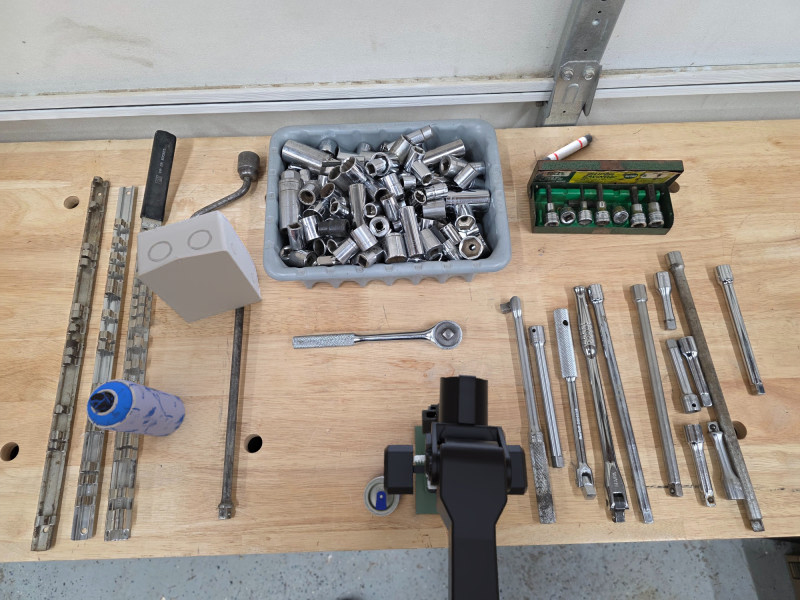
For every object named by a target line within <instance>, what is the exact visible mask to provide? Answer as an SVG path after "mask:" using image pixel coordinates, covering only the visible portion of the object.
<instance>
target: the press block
mask: <svg viewBox="0 0 800 600" xmlns="http://www.w3.org/2000/svg"><path fill="white" fill-rule="evenodd" d="M425 440H426V434H422V425H415V426H414V454H415V455H425ZM415 455H414V456H415ZM414 465H425V461H424V463H423V462H422V461H421V463H420V462H418V463H417V462H415V463H414ZM415 515H439V513H438V511H437V508H436V493H430V492H428V490H427V477H426V474H425V473H415Z"/></svg>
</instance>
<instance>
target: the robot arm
mask: <svg viewBox="0 0 800 600" xmlns="http://www.w3.org/2000/svg"><path fill="white" fill-rule="evenodd" d="M438 397H439V398H438V403H433V404H431V403H430V405H428V406H427V409H422V410H421V426H422V434H426V440H425V455H414V444H387V445H386V447H385V448H384V449H383V476H384V491H385V492H386V493H387V494H388V495H401V496H402V495H403V496H407V495H408V496H412V495H413V496H414V492H415V491H414V474H416V473H425V474H426V477H427V490H428V492H430V493H436V508H437V511H438V513H439V514H438V515H439V517H440V518H441V521H442V522H443V524H444V527H445V528H446V529H447V536H448V537H447V539H448V540H447V545H448V546H447V547H448V548H447V550H448V552H447V555H448V559H447V563H448V565H447V566H448V567H447V571H448V572H447V573H448V574H447V575H448V576H447V600H501V599H500V584H499V581H500V580H499V566H498V565H499V563H498V548H497V524H498V522H499V520H500V517H501V516H502V514H503V512H504V510H505V508H506V506H507V504H508V500H509V499H508V497H509V496H525V494H526V493H527V492H528V489H529V481H528V480H529V479H528V469H527V459H526V452H525V449H524V448H523V447H522V445H520V444H507V440H506V437H505V434H504V430H503V426H500V425H489V380H488V379H484V378H480V377H477V376H476V375H469V374H459V375H458V376H441V377H439V396H438ZM421 461H422V462H423V463H424V461H425V465H415V462H417V463H418V462H420V463H421Z"/></svg>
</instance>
